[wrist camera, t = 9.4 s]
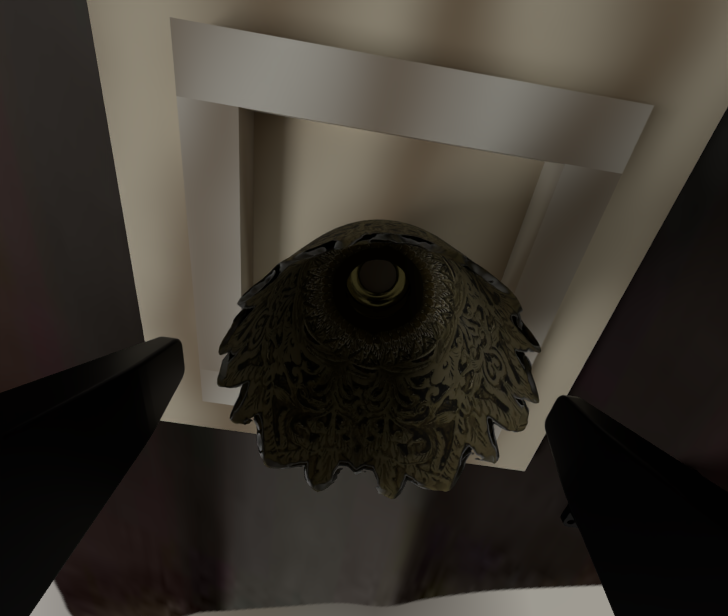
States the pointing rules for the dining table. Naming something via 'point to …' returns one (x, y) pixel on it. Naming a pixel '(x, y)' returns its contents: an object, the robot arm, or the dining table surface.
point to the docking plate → (403, 153)
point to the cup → (379, 360)
